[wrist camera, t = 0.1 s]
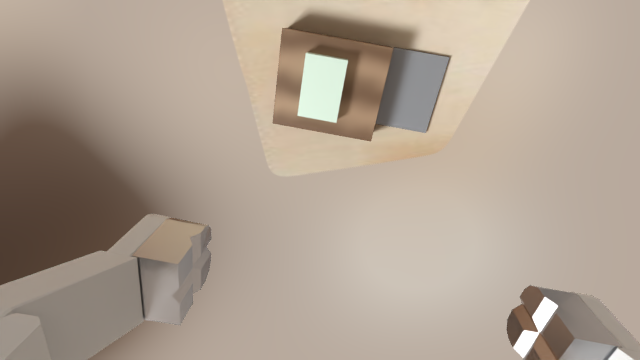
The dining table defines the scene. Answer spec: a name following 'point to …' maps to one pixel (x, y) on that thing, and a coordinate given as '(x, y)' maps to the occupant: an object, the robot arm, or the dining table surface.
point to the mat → (411, 89)
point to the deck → (358, 88)
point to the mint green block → (322, 86)
